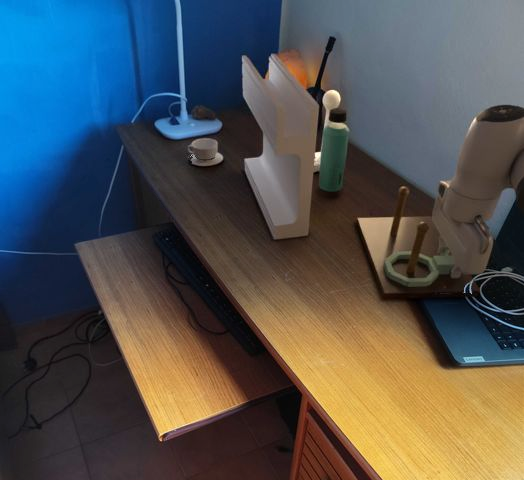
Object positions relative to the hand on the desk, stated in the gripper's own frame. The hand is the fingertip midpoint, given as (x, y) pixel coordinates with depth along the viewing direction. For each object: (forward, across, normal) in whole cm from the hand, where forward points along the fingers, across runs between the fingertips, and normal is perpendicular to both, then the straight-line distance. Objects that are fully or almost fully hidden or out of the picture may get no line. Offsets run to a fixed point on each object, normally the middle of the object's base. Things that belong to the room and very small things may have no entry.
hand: (447, 265), depth 95 cm
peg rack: (+3, +7, +5) cm, 9 cm away
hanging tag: (+1, 0, +5) cm, 5 cm away
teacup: (+3, +57, +52) cm, 77 cm away
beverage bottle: (+3, +37, +18) cm, 41 cm away
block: (+3, +33, +34) cm, 47 cm away
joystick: (+3, +50, +20) cm, 54 cm away
